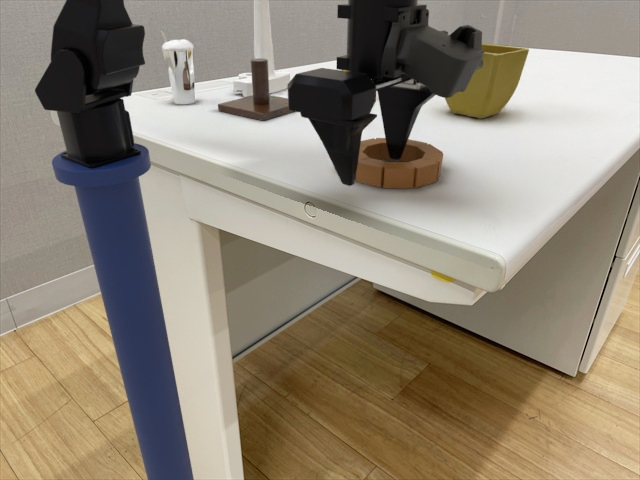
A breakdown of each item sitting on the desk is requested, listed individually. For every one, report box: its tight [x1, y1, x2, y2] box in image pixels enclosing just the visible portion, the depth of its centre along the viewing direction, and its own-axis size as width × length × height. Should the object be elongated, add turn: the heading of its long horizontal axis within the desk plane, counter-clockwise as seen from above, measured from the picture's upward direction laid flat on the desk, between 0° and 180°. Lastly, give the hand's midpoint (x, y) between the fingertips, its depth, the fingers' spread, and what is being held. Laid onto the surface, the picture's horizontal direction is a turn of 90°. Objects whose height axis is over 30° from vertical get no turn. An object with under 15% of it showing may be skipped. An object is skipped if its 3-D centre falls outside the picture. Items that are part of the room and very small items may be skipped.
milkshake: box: [160, 31, 196, 106], centre depth 75 cm, size 4×5×10 cm
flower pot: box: [444, 43, 530, 119], centre depth 70 cm, size 9×9×9 cm
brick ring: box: [355, 137, 444, 189], centre depth 51 cm, size 10×10×2 cm
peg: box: [217, 58, 295, 122], centre depth 72 cm, size 9×9×7 cm
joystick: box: [232, 0, 291, 98], centre depth 81 cm, size 11×8×20 cm
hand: (372, 170), depth 48 cm, fingers open, 8 cm apart
